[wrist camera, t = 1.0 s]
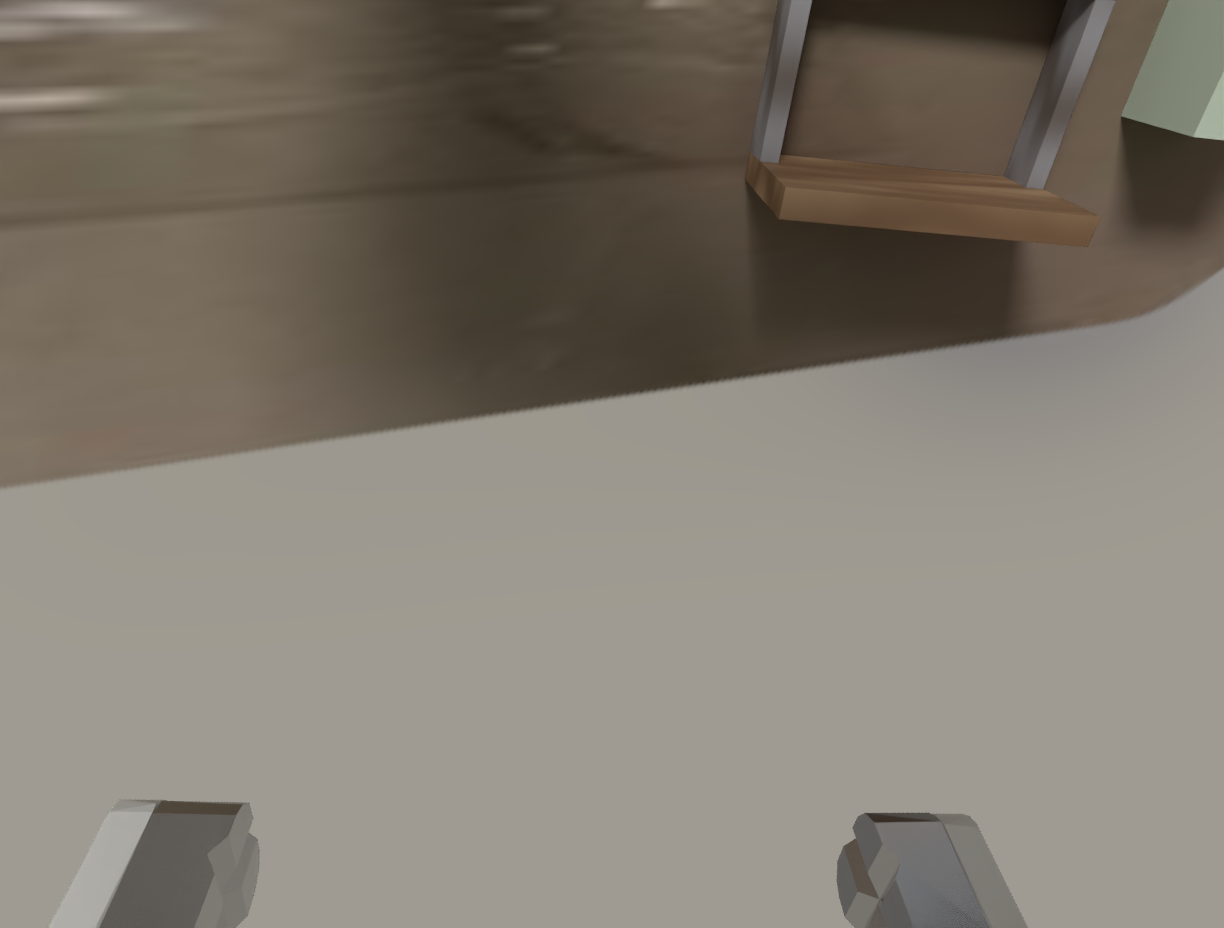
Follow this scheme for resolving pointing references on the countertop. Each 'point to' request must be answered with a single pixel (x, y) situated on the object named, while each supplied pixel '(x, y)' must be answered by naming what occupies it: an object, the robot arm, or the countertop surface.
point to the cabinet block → (1184, 72)
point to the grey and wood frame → (926, 193)
